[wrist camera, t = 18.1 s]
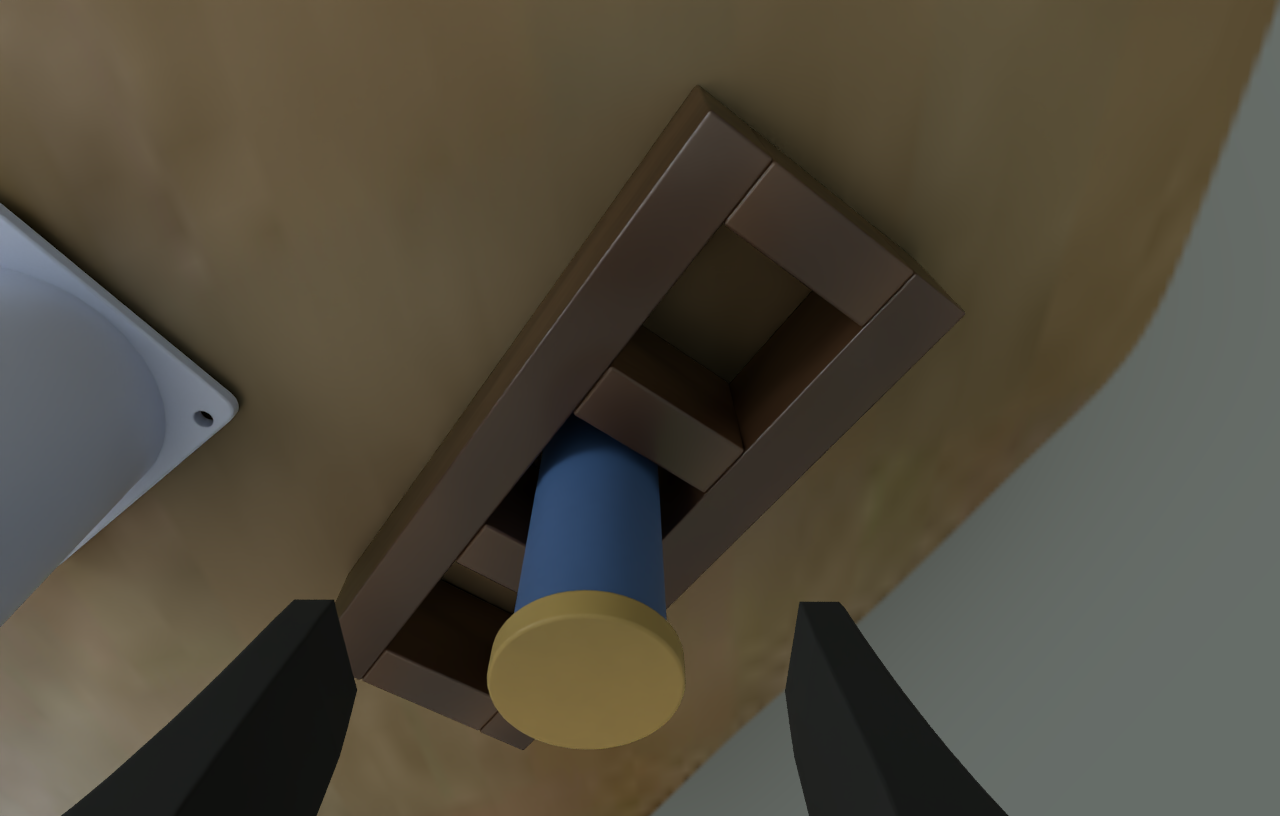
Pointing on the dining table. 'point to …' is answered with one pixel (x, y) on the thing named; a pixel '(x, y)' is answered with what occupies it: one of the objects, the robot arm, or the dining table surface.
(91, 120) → the dining table surface
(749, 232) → the holder
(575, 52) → the dining table surface
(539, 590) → the capped tube
